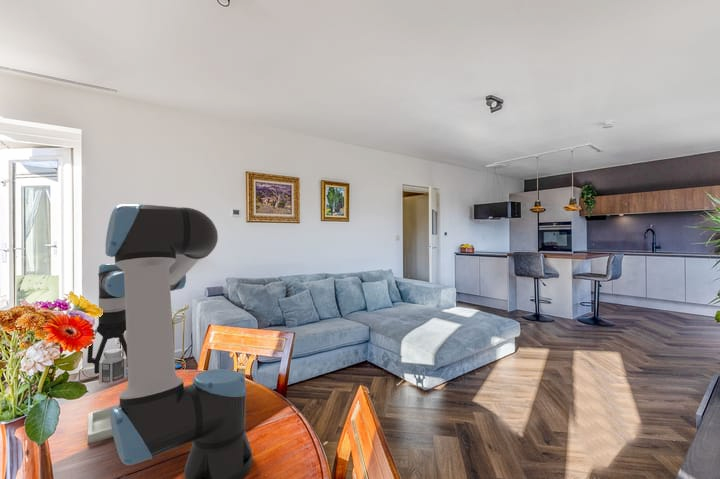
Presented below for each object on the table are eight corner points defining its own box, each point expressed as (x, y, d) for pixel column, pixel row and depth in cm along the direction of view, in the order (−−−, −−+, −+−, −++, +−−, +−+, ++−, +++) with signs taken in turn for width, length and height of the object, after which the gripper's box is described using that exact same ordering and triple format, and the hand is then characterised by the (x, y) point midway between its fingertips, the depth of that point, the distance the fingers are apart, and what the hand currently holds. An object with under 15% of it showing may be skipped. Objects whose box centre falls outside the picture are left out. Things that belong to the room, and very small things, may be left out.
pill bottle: (124, 376, 111) (124, 347, 111) (123, 381, 106) (123, 351, 106) (102, 379, 107) (103, 350, 108) (100, 386, 103) (101, 354, 103)
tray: (149, 425, 95) (149, 417, 95) (87, 444, 86) (87, 435, 86) (144, 406, 106) (144, 398, 106) (88, 420, 97) (88, 412, 97)
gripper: (145, 304, 116) (145, 369, 116) (76, 311, 104) (75, 383, 104) (148, 307, 110) (148, 375, 110) (74, 316, 98) (74, 392, 98)
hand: (112, 379), depth 107 cm, fingers closed on pill bottle, 6 cm apart
